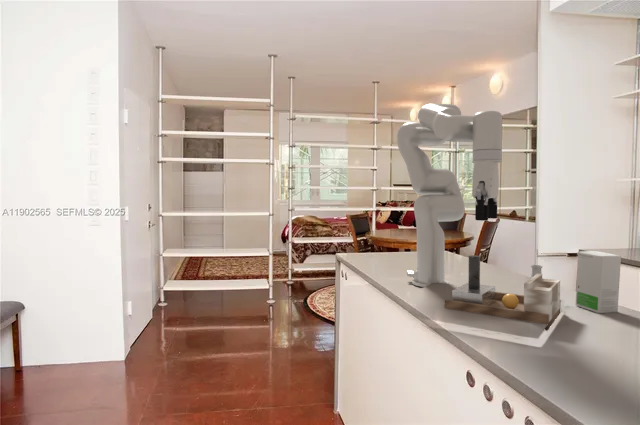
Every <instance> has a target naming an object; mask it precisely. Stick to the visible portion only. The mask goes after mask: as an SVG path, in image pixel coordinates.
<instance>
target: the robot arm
mask: <svg viewBox="0 0 640 425" xmlns="http://www.w3.org/2000/svg"><path fill="white" fill-rule="evenodd" d="M417 119H418V121H415V122H413V121H412V122H406V123H404V124H402V125H401V126H400V127H399V129H398V131H397V135H396V138H397V139H396V141H397V142H396V143H397V147H398V150H399V154H400V156H401V157H402V159H403V160H404V163H405V165H406V168H407V173H408V176H409V180H410V183H411V187H412V189H413V192H414V193H415V194H417V195H420V196H419V197H417V198H416V199H415V200H414V204H413V213H414V217H415V226H416V270H407V271H406V276H407V277H410V278H412V277H413V279H412V281H411V282H412V285H413V286H417V287H420V288H425V287H428V286H430V285H432V284H445V285H446V284H447V285H450V281H449V280H447V279H445V277H446V276H445V268H446V267H445V265H446V264H445V254H446V253H445V252H446V251H445V249H446V248H445V247H446V245H445V244H446V242H445V241H446V239H445V237H446V236H445V232H444V230H443V228H442V227H441V225H440V222H443V223H444V222H455V221H457V222H458V221H460V220H461V219H462V218H463V217H464V215H465V212H466V211H465V210H466V207H465V206H466V205H465V202H464V198H463V196H462V192H461V189H460V186H459V182H458V180H457V177H456V175H455V174H454V172H453V171H451V170H450V169H446V168H434V167H433V166H432V164H431V160H430V158H429V156H428V155H427V153H425V151H424V150H423V149H422V148H420V147H419V146H423V147H424V146H425V147H426V146H428V147H436V146H438V147H439V146H441V145H443V144H444V143H445V142H451V143H454V142H455V143H456V142H457V143H472V163H473V164H474V165H473V171H472V185H471V186H472V187H471V188H472V189H471V196H472V198H474V199H475V204H474V205H475V206H474V208H475V211H474V212H475V213H474V214H475V217H474V219H475V221H485V222H486V221H488V220H489V219H496V220H497V218H498V196H499V188H500V187H499V186H500V184H499V163H502V162H503V160H502V159H503V158H502V156H503V150H502V148H503V147H502V146H503V116H502V113H501V112H500V111H497V110H486V111H485V110H483V111H479V112H476V113H475V114H474V115H463V114H462V111H461V109H460V108H459V107H458V106H457V105H456V104H452V103H449V104H448V103H428V104H425V105H423V106H422V107H421V108H419V111H418V113H417Z"/></svg>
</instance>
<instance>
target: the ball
mask: <svg viewBox="0 0 640 425" xmlns="http://www.w3.org/2000/svg"><path fill="white" fill-rule="evenodd" d="M514 294H515V293H510V294H506V295H504V296H503V298H502V303H503V305H504V306H505V307H506V308H509V309H514V308H516V307H517V305H518V303H519V301H518V298H517V297H516V296H515V295H514Z"/></svg>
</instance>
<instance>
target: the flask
mask: <svg viewBox="0 0 640 425" xmlns="http://www.w3.org/2000/svg"><path fill="white" fill-rule="evenodd" d="M530 267H531V276H530V279H531V278H532V277H533V276H535V275H536V274H542V275H543V273H542V269H543V265H540V264H531V265H530Z"/></svg>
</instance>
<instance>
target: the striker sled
mask: <svg viewBox="0 0 640 425" xmlns="http://www.w3.org/2000/svg"><path fill="white" fill-rule="evenodd" d="M451 292H452V293H451V296H452V297H451V300H454V301H461V302H468V303H474V304H481V305H489V304H491V303H492V302H493V301H495V292H496V286H495V285H487V284H481V255H468V282H466V283H464V284H462V285H460V286H458V287H456V288H455V289H452V290H451Z"/></svg>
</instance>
